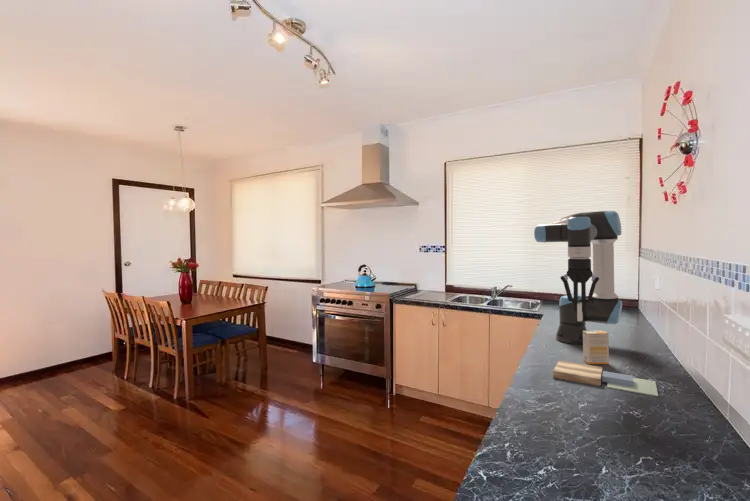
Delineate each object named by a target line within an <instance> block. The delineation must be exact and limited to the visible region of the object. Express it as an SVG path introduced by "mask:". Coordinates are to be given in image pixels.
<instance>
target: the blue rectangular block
mask: <svg viewBox="0 0 750 501" xmlns="http://www.w3.org/2000/svg"><path fill="white" fill-rule="evenodd" d="M602 373H603V374H602V380H601V383H602V382H603V383H613V384H619V385H625V386H630V387H633V378H634V375H631V374H624V373H617V372H612V371H611V372H610V371H606V370H602Z"/></svg>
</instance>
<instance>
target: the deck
mask: <svg viewBox="0 0 750 501" xmlns="http://www.w3.org/2000/svg"><path fill="white" fill-rule="evenodd" d="M602 375H603V367H602V366H598V365H592V364H583V363H577V362H572V361H564V360H558V362H557V363H556V365H555V367H554V369H553V370H552V378H553V379H559V380H563V379H565V381H569V382H570V381H571V382H576V383H581V384H586V385H592V386H597V387H601V384H602Z"/></svg>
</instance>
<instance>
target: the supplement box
mask: <svg viewBox="0 0 750 501" xmlns="http://www.w3.org/2000/svg"><path fill="white" fill-rule="evenodd" d="M609 341H610V340H609V332H607V331H605V330H587V331H583V344H582V351H583V352H582V356H583V357H582V358H583V360H582V361H583V362H585V363H586V364H587V365H610V364H609V363H610V351H609Z"/></svg>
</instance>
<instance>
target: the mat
mask: <svg viewBox="0 0 750 501" xmlns="http://www.w3.org/2000/svg"><path fill="white" fill-rule="evenodd" d="M606 383H607V382H606ZM657 387H658V386H657V382H656V380H648V379H643V378H639V377H638V378H637V377H633V387H630V386H625V385H619V384H613V383H607V386H606V388H608V389H609V388H610V389H614V390H620V391H625V392H630V393H637V394H640V395H647V396H651V397H652V396H653V397H658V398H659V392H658V388H657Z"/></svg>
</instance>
